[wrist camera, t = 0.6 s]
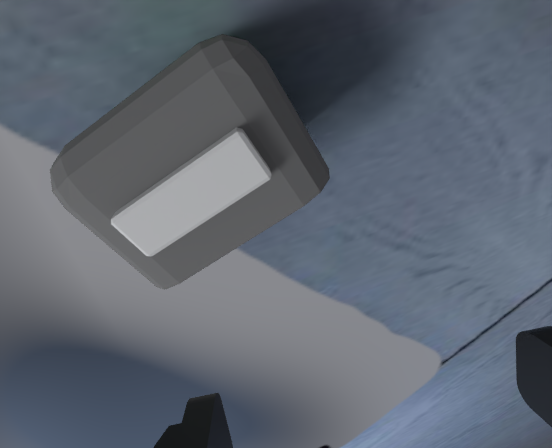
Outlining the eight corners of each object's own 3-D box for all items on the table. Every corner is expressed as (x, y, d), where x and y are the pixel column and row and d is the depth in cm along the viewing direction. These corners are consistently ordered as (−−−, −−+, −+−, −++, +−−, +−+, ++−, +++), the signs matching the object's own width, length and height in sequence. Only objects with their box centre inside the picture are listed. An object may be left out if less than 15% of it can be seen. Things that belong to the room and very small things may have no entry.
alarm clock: (175, 212, 36) (146, 313, 23) (95, 128, 31) (-5, 195, 17) (297, 130, 34) (346, 189, 20) (233, 22, 28) (242, 4, 15)
